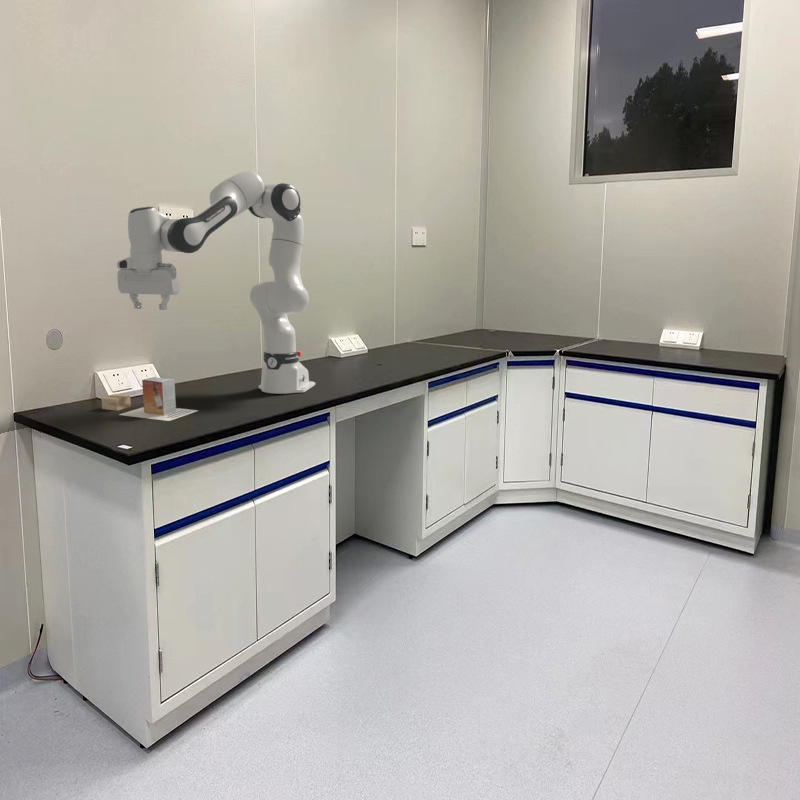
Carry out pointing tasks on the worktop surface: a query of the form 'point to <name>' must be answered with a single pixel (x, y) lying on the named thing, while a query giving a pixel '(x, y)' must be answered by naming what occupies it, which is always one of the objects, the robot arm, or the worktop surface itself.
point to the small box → (159, 395)
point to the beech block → (116, 402)
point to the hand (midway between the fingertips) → (150, 309)
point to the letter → (167, 417)
